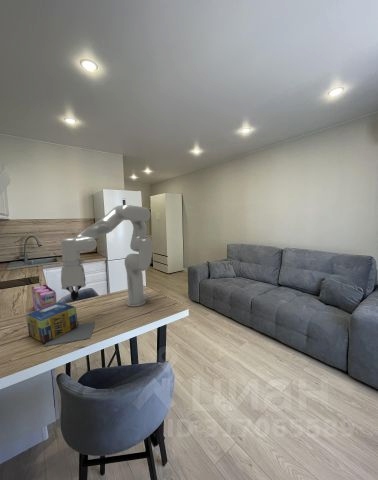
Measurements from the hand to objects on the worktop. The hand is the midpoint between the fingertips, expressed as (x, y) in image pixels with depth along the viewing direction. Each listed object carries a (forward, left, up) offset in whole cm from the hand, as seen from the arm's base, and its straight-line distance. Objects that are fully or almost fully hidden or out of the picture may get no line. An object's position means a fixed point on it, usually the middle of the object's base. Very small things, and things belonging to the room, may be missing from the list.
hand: (75, 299), depth 105 cm
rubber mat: (+1, +7, -14) cm, 16 cm away
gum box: (+23, -27, -14) cm, 38 cm away
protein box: (+4, -3, -8) cm, 10 cm away
